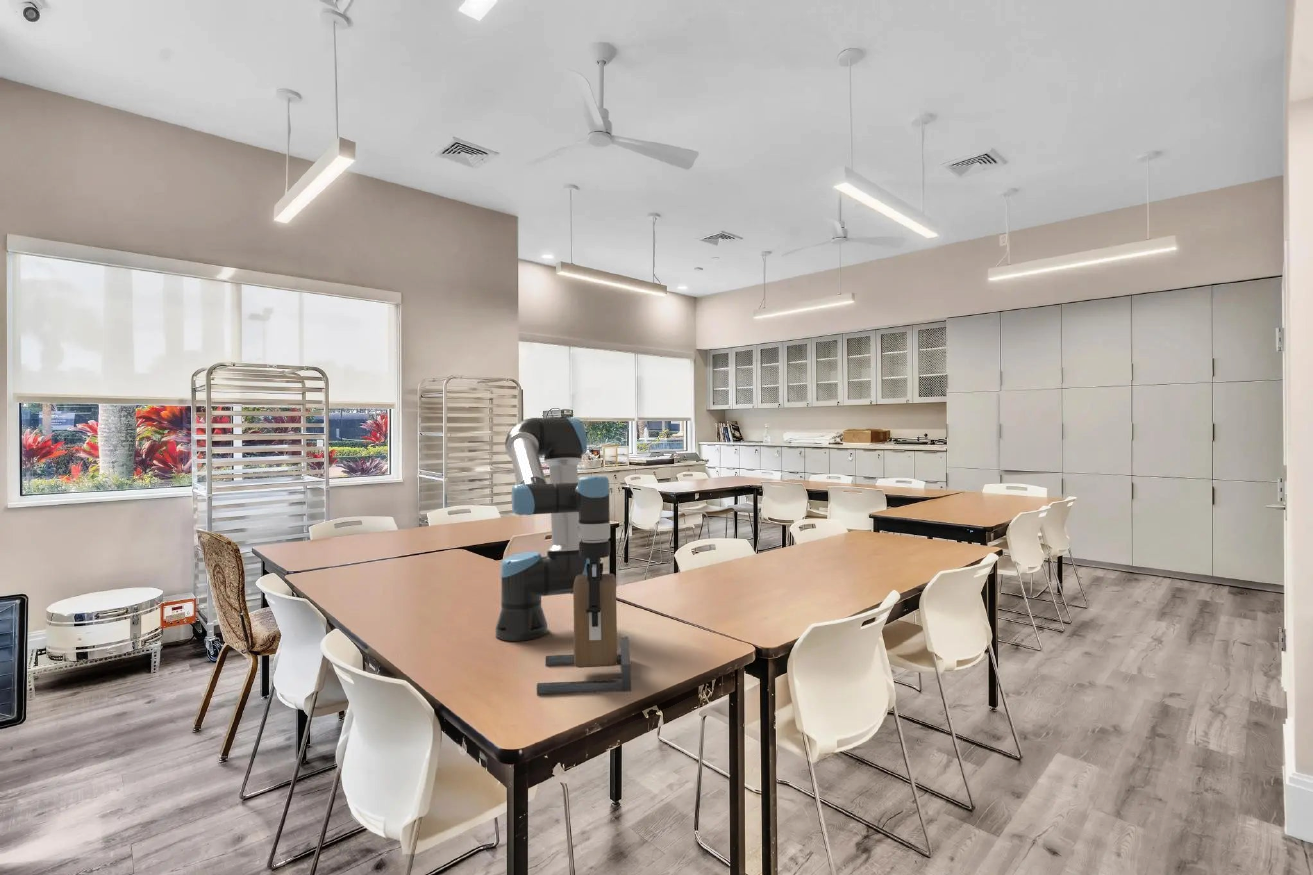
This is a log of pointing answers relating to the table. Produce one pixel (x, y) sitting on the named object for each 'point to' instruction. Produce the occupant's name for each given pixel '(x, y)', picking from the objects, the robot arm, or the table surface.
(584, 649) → the wooden block
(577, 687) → the end stop channel
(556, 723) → the table surface
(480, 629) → the table surface
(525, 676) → the table surface
